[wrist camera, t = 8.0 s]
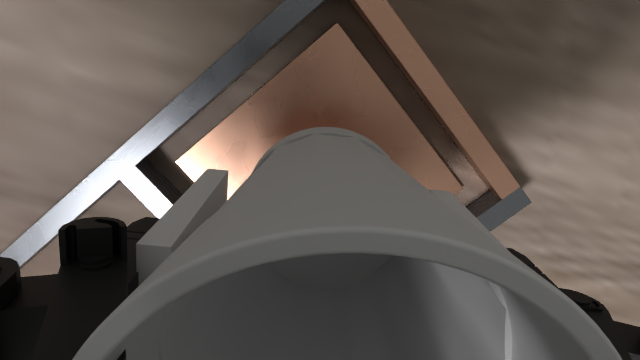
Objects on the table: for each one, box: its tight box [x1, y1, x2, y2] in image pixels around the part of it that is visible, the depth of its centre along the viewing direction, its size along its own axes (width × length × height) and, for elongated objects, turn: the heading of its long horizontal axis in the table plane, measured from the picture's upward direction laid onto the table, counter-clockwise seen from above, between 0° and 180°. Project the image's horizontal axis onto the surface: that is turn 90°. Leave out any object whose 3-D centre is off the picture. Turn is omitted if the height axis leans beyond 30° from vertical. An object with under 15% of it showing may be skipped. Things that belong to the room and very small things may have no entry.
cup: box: [72, 127, 622, 360], centre depth 12 cm, size 8×8×12 cm
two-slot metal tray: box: [0, 0, 531, 269], centre depth 22 cm, size 27×14×2 cm, turn 129°
